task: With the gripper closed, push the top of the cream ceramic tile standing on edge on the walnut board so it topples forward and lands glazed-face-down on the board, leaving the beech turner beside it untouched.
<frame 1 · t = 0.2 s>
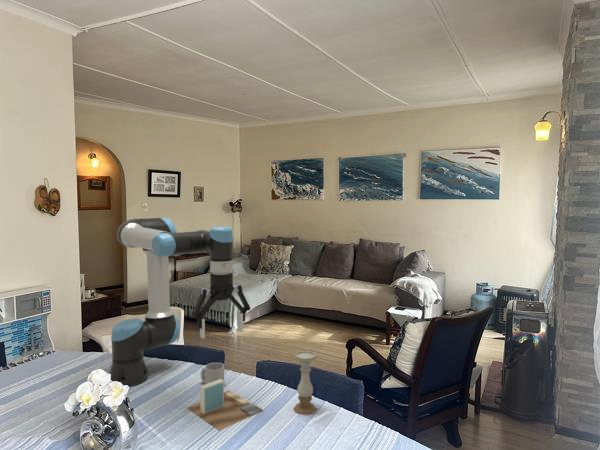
hand: (221, 334, 145), 27 cm above the table, fingers open, 13 cm apart
turner: (239, 403, 150), point 1 cm above the table, touching board
cup: (211, 388, 165), on the table
candle holder: (305, 412, 147), on the table
tile: (212, 408, 146), point 1 cm above the table, touching board
board: (224, 412, 146), on the table
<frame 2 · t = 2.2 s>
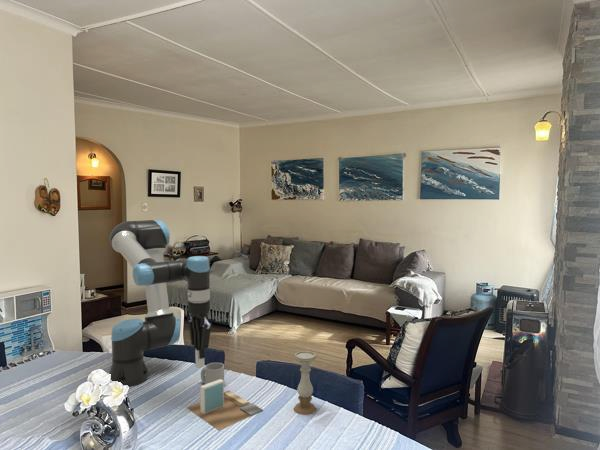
hand: (200, 366, 151), 14 cm above the table, fingers closed
nothing on the table moved.
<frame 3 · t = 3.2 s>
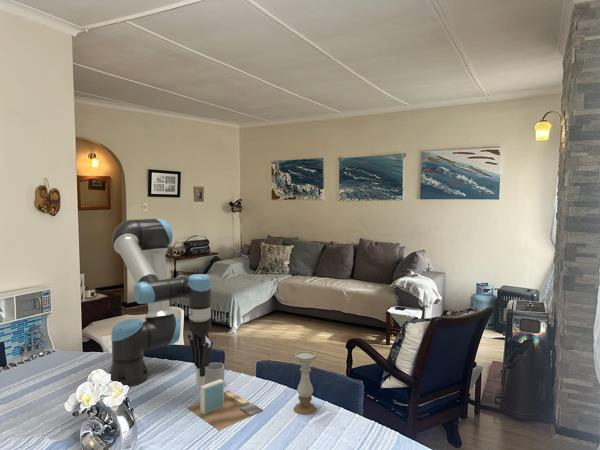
hand: (200, 384, 151), 7 cm above the table, fingers closed
nothing on the table moved.
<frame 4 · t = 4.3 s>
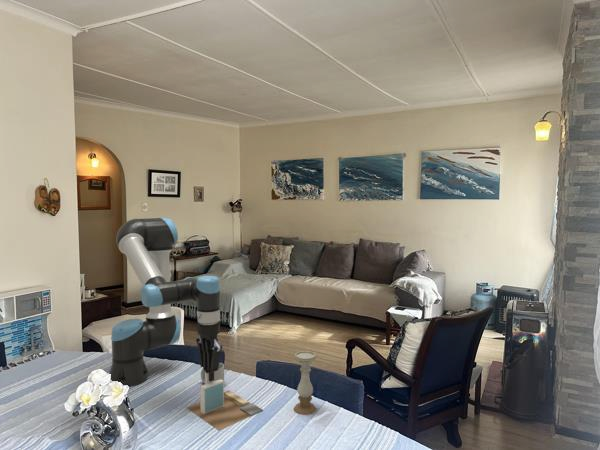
hand: (209, 389, 147), 8 cm above the table, fingers closed
tile: (212, 408, 146), point 1 cm above the table, touching board, gripper
everything else where it was.
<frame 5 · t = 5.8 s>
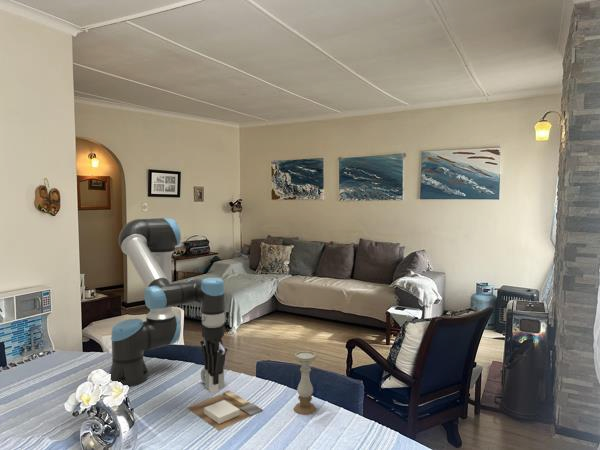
hand: (213, 392, 145), 7 cm above the table, fingers closed
tile: (214, 406, 145), point 2 cm above the table, tilted 90°, touching board
everything else where it was.
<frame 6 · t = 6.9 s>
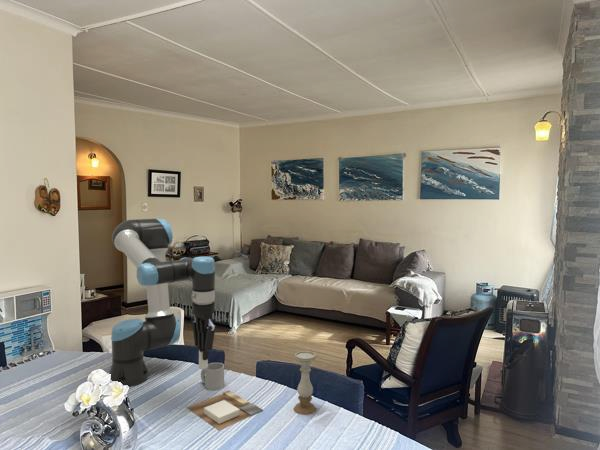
hand: (203, 367, 149), 14 cm above the table, fingers closed
nothing on the table moved.
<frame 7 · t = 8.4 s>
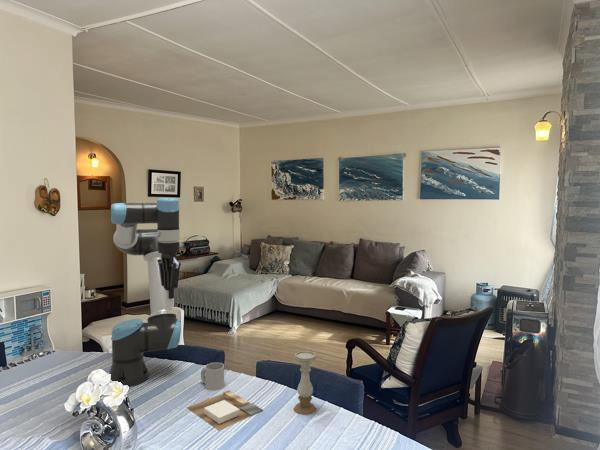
hand: (169, 306, 153), 34 cm above the table, fingers closed
nothing on the table moved.
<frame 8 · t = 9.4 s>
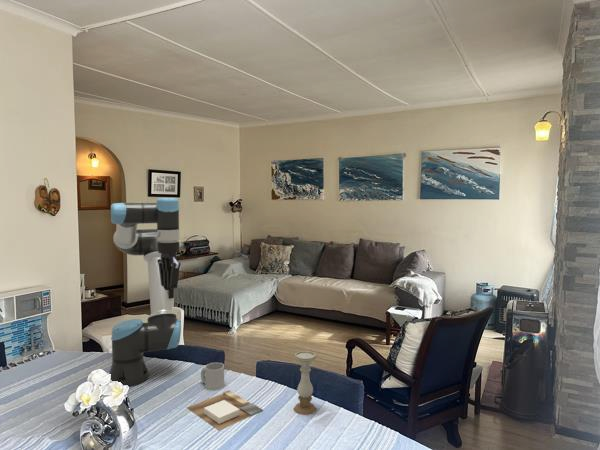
hand: (169, 306, 153), 34 cm above the table, fingers closed
nothing on the table moved.
at the end: tile tilted 90°; tile inside the target area on the board (3.5 cm from its centre), point 2.4 cm above the board's base; turner moved 0.1 cm from its start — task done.
